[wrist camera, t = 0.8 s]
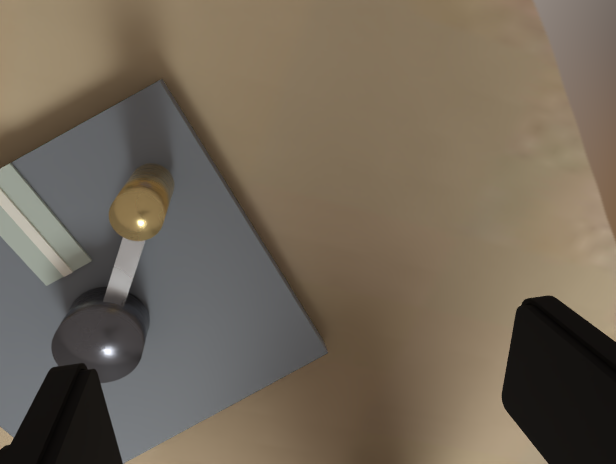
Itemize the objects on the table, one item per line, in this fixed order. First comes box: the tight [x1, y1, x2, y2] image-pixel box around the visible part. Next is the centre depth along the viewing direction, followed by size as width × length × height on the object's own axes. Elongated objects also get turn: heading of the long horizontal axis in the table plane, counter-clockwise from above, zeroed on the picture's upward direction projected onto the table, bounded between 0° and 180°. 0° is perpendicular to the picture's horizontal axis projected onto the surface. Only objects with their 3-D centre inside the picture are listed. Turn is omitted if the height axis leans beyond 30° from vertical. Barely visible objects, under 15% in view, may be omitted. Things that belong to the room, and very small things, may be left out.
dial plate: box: [0, 79, 328, 463], centre depth 30 cm, size 22×22×2 cm
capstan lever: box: [51, 163, 174, 383], centre depth 25 cm, size 14×5×6 cm, turn 157°
